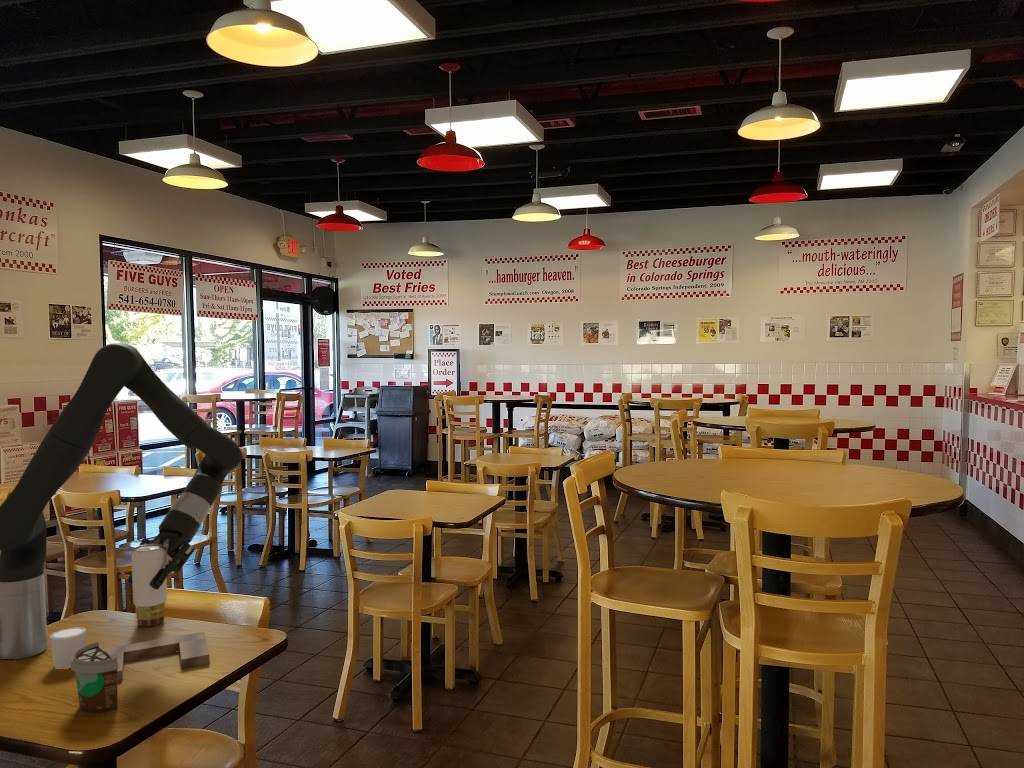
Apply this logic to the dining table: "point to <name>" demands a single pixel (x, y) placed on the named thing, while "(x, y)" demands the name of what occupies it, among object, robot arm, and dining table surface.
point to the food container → (95, 679)
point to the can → (147, 575)
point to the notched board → (164, 650)
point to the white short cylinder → (66, 645)
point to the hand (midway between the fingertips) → (142, 585)
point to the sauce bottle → (151, 615)
